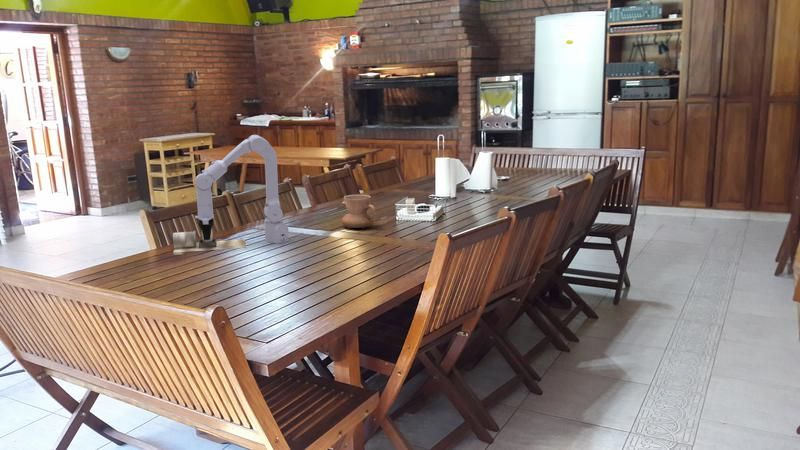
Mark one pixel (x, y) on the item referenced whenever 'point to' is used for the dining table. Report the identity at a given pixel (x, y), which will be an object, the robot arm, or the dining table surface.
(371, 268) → the dining table surface
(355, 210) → the ceramic jug
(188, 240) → the motor mount
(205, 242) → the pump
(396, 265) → the dining table surface
